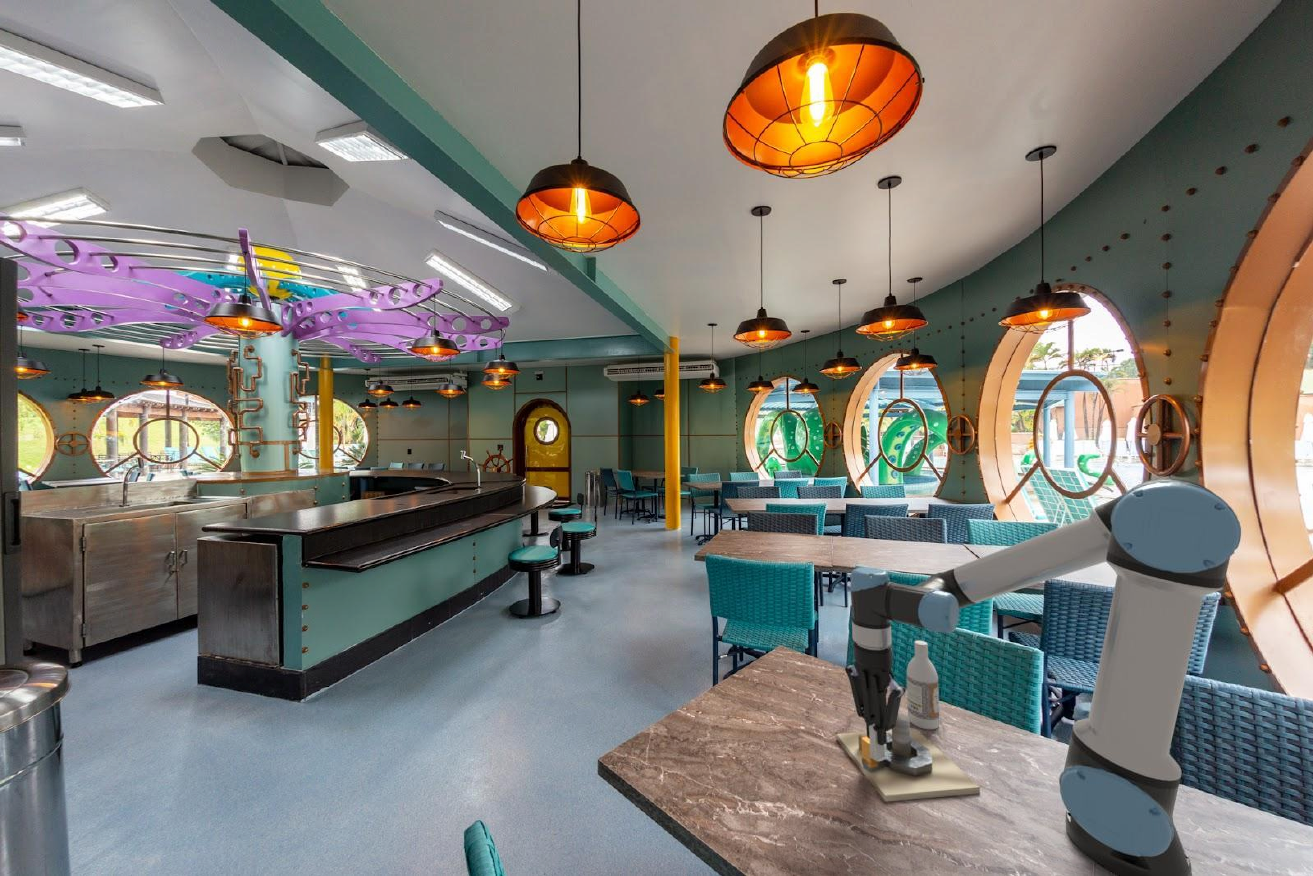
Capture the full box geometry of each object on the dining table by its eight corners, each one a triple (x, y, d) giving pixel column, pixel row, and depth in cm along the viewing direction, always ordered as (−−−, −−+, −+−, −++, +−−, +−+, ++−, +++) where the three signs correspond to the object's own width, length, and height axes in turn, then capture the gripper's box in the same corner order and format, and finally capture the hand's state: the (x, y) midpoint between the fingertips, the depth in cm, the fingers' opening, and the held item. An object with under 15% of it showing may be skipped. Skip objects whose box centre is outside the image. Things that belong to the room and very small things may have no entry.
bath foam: (934, 734, 112) (932, 650, 113) (904, 722, 117) (901, 642, 118) (943, 722, 117) (940, 642, 118) (913, 711, 122) (910, 635, 123)
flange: (899, 736, 109) (898, 712, 109) (943, 766, 99) (942, 739, 99) (847, 752, 104) (846, 727, 104) (887, 786, 93) (887, 757, 93)
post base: (979, 793, 93) (978, 742, 93) (885, 801, 91) (883, 750, 91) (915, 733, 113) (913, 691, 113) (836, 739, 111) (835, 696, 111)
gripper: (912, 649, 94) (918, 768, 93) (857, 629, 105) (862, 735, 105) (889, 658, 91) (895, 782, 90) (835, 637, 102) (839, 746, 101)
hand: (877, 757), depth 97 cm, fingers closed
